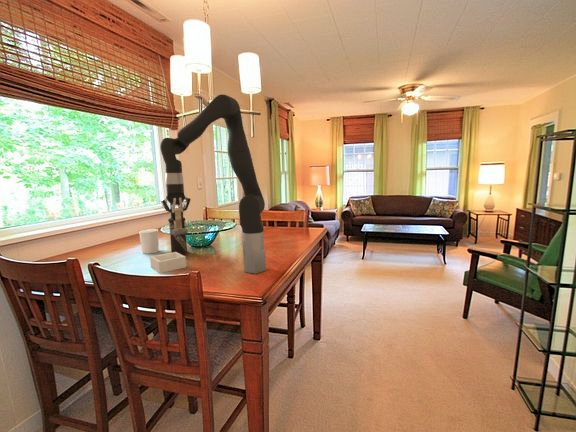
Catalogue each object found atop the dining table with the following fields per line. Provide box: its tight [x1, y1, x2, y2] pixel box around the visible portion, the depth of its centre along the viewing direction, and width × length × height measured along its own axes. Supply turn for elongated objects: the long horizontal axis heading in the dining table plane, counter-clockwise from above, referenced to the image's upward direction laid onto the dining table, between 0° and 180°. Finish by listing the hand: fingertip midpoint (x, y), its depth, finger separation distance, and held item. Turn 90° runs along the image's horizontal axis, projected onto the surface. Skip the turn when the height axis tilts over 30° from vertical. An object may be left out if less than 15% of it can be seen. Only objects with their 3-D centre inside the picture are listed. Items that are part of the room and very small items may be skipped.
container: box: [167, 216, 188, 256], centre depth 161 cm, size 9×9×20 cm
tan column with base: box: [169, 207, 188, 235], centre depth 140 cm, size 6×6×12 cm
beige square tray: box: [149, 252, 187, 274], centre depth 139 cm, size 12×12×5 cm
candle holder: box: [138, 228, 160, 254], centre depth 167 cm, size 10×10×12 cm
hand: (177, 220), depth 140 cm, fingers closed on tan column with base, 2 cm apart
